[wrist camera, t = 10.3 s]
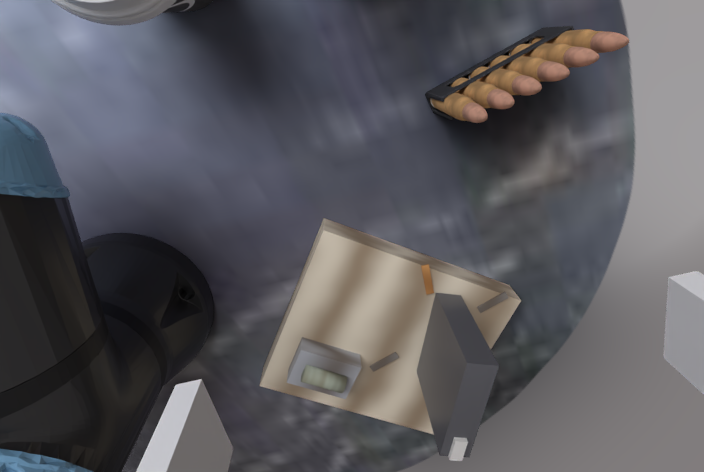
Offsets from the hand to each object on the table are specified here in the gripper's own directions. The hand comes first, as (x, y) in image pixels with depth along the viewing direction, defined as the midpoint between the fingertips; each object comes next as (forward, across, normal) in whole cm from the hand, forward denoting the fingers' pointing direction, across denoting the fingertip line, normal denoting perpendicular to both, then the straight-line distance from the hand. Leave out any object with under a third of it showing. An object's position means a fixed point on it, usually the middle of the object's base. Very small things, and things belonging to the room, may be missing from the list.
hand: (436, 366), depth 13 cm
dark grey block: (+26, -3, +18) cm, 32 cm away
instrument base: (+29, +2, +18) cm, 34 cm away
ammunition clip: (+29, -12, -4) cm, 31 cm away
